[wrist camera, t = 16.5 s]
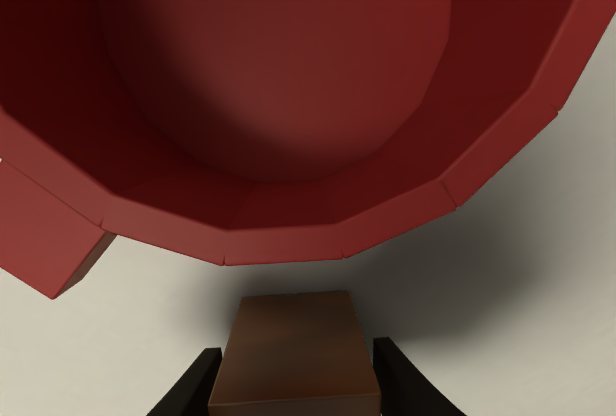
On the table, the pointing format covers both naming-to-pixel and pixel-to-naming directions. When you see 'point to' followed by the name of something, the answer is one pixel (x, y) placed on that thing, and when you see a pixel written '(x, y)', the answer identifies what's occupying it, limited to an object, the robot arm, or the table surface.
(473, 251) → the table surface
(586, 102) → the table surface
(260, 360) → the block
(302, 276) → the table surface
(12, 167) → the pot
